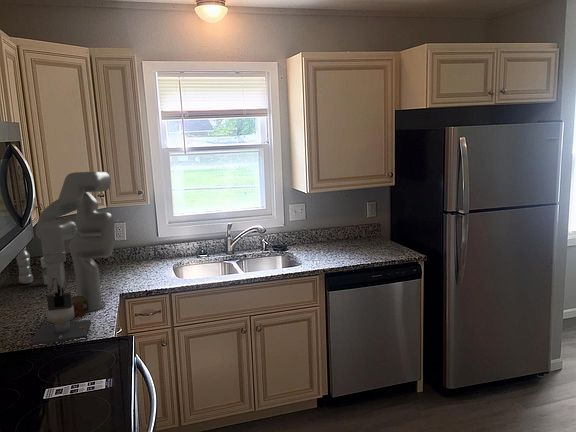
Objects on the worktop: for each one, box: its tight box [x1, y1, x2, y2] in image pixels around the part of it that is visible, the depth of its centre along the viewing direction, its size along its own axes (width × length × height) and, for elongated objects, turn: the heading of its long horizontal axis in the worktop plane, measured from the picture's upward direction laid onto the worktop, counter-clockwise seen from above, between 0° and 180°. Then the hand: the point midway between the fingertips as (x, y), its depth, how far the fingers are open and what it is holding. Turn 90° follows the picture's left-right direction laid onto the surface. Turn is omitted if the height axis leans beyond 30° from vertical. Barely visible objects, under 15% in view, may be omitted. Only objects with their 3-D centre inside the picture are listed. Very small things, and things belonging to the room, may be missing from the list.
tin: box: [71, 295, 89, 318], centre depth 204 cm, size 15×3×8 cm, turn 106°
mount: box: [32, 319, 92, 346], centre depth 186 cm, size 17×18×6 cm
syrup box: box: [40, 256, 48, 286], centre depth 253 cm, size 6×6×14 cm
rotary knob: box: [46, 291, 76, 324], centre depth 183 cm, size 11×9×10 cm
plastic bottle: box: [15, 246, 34, 285], centre depth 255 cm, size 6×7×20 cm
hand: (60, 304), depth 184 cm, fingers closed on rotary knob, 2 cm apart
